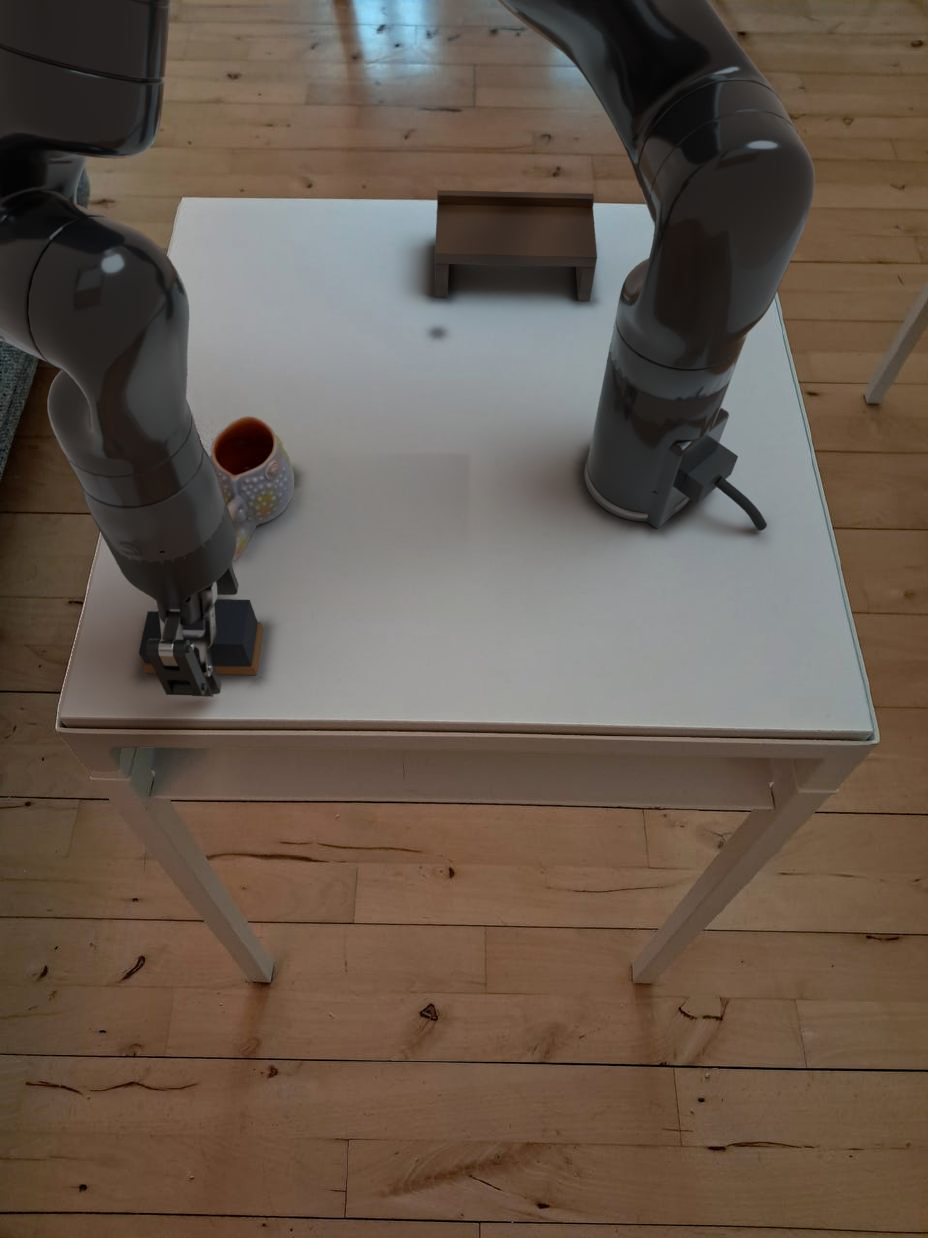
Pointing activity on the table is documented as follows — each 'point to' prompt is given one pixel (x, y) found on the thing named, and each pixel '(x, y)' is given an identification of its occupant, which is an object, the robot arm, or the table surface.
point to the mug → (251, 475)
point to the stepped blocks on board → (220, 638)
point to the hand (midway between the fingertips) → (216, 638)
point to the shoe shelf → (515, 232)
